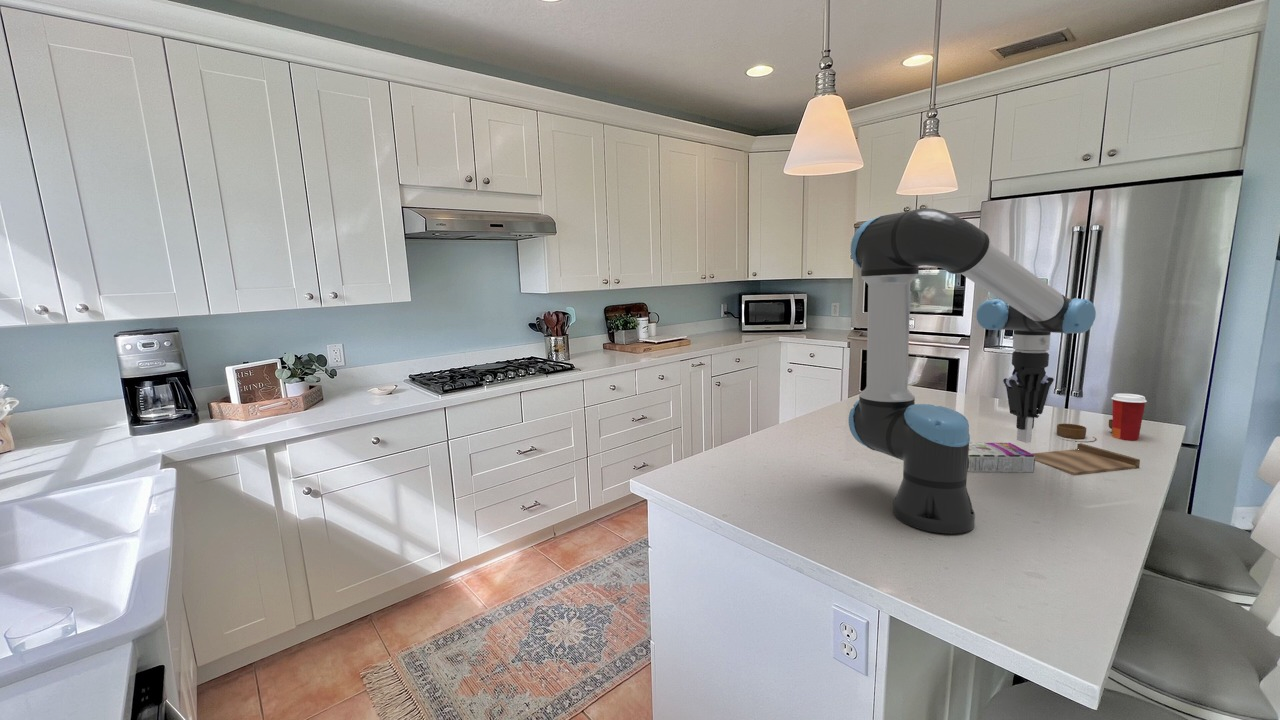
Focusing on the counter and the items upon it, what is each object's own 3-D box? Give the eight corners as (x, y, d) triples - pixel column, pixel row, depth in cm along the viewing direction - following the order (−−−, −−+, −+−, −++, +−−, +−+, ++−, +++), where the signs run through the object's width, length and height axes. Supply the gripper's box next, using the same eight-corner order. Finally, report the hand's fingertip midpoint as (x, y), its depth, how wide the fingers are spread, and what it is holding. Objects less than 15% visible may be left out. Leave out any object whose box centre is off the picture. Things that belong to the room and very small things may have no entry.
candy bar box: (1009, 459, 143) (946, 458, 145) (1010, 442, 142) (947, 441, 144) (1034, 474, 132) (966, 472, 134) (1036, 455, 131) (967, 454, 133)
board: (1073, 475, 130) (1074, 466, 129) (1020, 457, 144) (1020, 449, 144) (1139, 468, 133) (1140, 459, 133) (1080, 451, 148) (1081, 443, 148)
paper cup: (1148, 442, 154) (1152, 396, 152) (1134, 446, 151) (1139, 399, 149) (1115, 436, 161) (1119, 391, 159) (1101, 439, 158) (1105, 394, 156)
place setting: (1037, 432, 170) (1038, 415, 169) (1115, 437, 162) (1117, 419, 161) (1056, 447, 154) (1057, 428, 153) (1143, 454, 146) (1145, 433, 145)
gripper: (1021, 353, 127) (1015, 447, 130) (1066, 351, 129) (1058, 443, 132) (995, 350, 134) (990, 439, 137) (1038, 348, 137) (1032, 435, 140)
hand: (1023, 441), depth 135 cm, fingers closed
